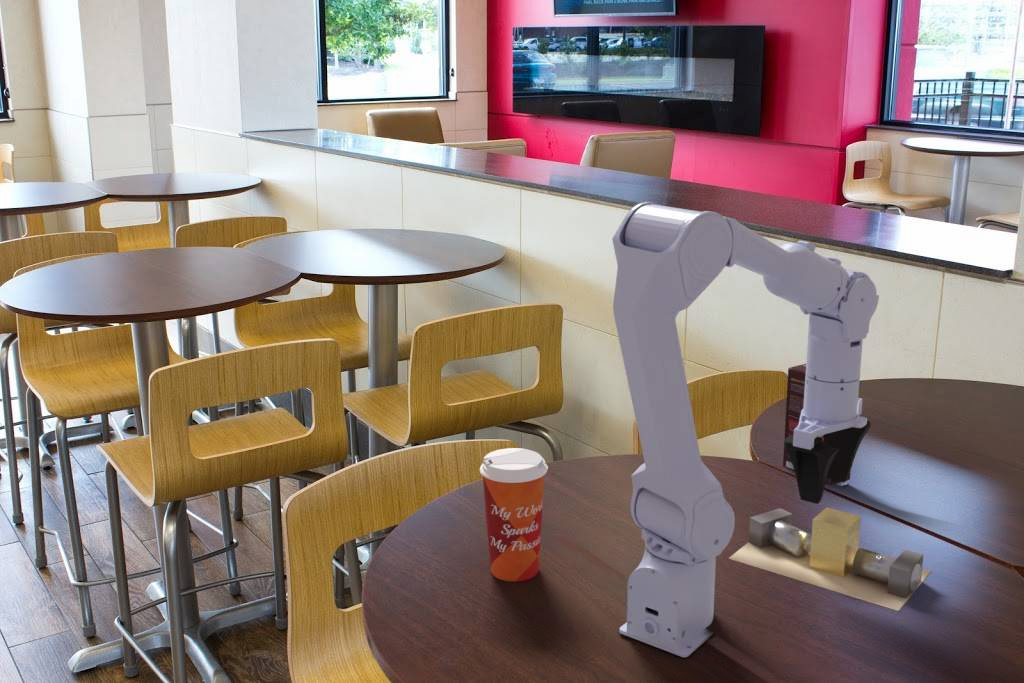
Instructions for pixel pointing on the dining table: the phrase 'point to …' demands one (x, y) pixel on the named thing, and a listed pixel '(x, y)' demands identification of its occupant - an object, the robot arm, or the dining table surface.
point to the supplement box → (797, 409)
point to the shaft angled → (790, 538)
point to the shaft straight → (880, 567)
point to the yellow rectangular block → (834, 541)
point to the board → (797, 568)
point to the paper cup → (514, 511)
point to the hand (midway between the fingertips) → (824, 489)
